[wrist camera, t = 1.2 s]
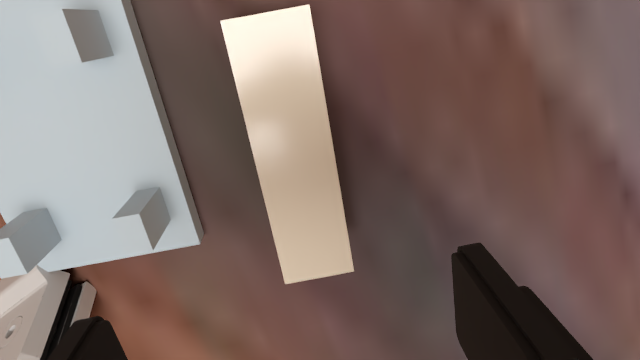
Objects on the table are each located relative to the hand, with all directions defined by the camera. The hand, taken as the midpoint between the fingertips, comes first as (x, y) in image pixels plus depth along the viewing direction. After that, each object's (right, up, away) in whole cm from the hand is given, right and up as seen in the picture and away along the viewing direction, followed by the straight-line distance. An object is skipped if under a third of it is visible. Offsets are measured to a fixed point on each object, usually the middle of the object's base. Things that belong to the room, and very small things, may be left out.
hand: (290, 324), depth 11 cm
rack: (-15, +7, +16) cm, 23 cm away
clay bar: (-1, +7, +17) cm, 19 cm away
